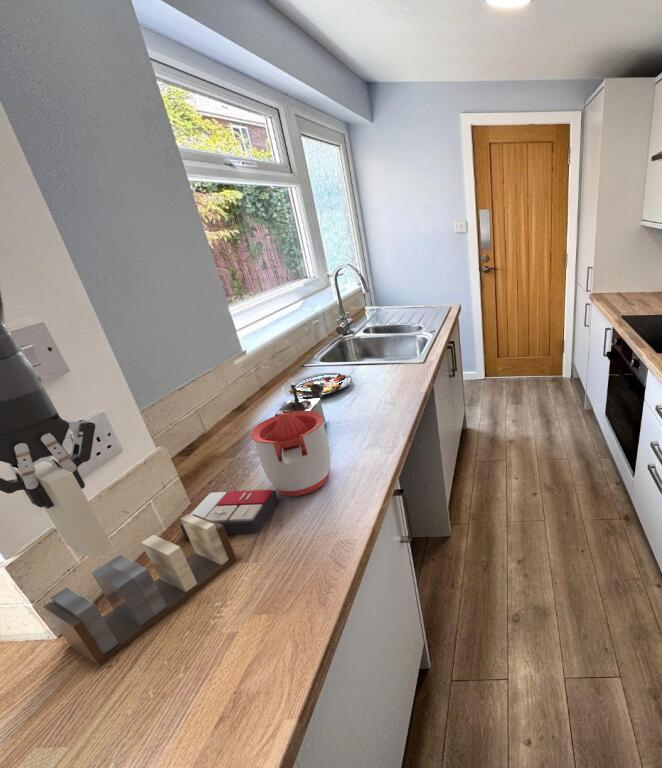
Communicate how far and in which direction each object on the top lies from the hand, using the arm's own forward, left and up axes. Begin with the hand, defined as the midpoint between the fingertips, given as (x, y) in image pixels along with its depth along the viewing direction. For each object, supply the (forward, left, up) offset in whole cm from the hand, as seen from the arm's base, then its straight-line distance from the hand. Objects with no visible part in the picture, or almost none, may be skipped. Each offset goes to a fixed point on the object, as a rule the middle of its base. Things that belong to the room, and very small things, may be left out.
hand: (62, 499), depth 59 cm
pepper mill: (-23, +59, -26) cm, 69 cm away
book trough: (0, +4, -26) cm, 26 cm away
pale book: (0, 0, -9) cm, 9 cm away
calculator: (-8, +24, -26) cm, 36 cm away
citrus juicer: (-3, +38, -26) cm, 47 cm away
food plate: (-49, +86, -26) cm, 103 cm away
